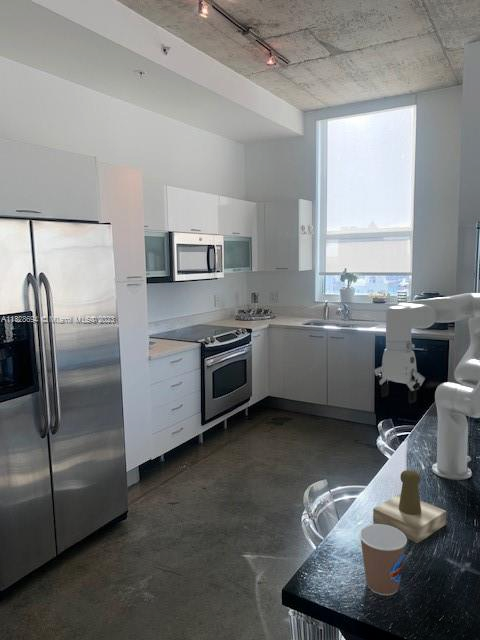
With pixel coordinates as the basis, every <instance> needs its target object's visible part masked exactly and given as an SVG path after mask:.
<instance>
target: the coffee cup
mask: <svg viewBox="0 0 480 640" xmlns="http://www.w3.org/2000/svg"><path fill="white" fill-rule="evenodd" d="M358 535H359V538H360V542H361V551H362V559H363V570H364V574H365V575H364V576H365V577H364V578H365V581H366V586H367V585H368V586H367V588H368V589H369V588H370V589H371V590H370V589H369V590H370V591H371V592H373V593H375V594H377V593H378V595H381V596H392V595H394V594H396V593H397V592H398V590H399V586H400V585H401V584H400V582H401V577H402V571H403V565H404V564H403V563H404V558H405V557H404V556H405V548H406V545H407V542H408V538H406V536H405V534H404V533H403V532H401V531H400V530H398V529H397V528H394V527H392V526H388V525H383V524H377V523H375V524H374V523H373V524H369V525H365V526H364V527H362V528H361V529H360V530H359V533H358Z"/></svg>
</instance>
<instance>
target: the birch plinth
mask: <svg viewBox="0 0 480 640" xmlns="http://www.w3.org/2000/svg"><path fill="white" fill-rule="evenodd" d="M400 496H401V493H399V494H397V495H396V496H393V497H392V498H389V499H388V500H386V501H385V502H382V503H381V504H379V505H377V506H375V507H373V508H372V510H373V511H372V523H375V524H383V525H388V526H392V527H394V528H397V529H398V530H400V531H401V532H403V533H404V534H405V536H406V538H407V540H410V541H412V542H415V543H416V544H419V543H420V542H422V541H423V540H425V539H426V538H429V536H431V535H432V534H434V533H435V532H437V531H439V530H440V529H441V528H443V527H444V526H446V525H447V510H444V509H442V508H441V507H437V506H436V505H432V504H430V503H427V502H425V501H422V500H420V504H421V513H420V514H417V515H409V514H405V513H403V512H401V511H400V510H399V502H400Z"/></svg>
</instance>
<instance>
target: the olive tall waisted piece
mask: <svg viewBox="0 0 480 640" xmlns="http://www.w3.org/2000/svg"><path fill="white" fill-rule="evenodd" d="M400 481H401V483H402V485H401V489H400V490H401V492H400V494H401V496H400V502H399V510H400V511H401V512H403V513H405V514H409V515H417V514H420V513H421V504H420V501H421V497H420V490H419V484H420V482H421V476H420V474H419V473H418V472H417V471H415V470H413V469H412V470H411V469H406V470H403V471H402V472H401V473H400Z"/></svg>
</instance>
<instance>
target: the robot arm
mask: <svg viewBox="0 0 480 640" xmlns="http://www.w3.org/2000/svg"><path fill="white" fill-rule="evenodd" d="M467 319H468V330H469V337H470V339H469V340H470V343H469V346H468V348H467V350H466V352H465V354H464V355H463V356H462V358H461V360H460V361H459V363H458V364H457V366H456V368H455V369H454V372H453V373H454V374H453V376H454V380H455V381H456V382H451V381H447V382H446V381H445V382H442V383H440V384H438V386H437V387H436V390H435V393H434V401H435V406H436V414H437V435H436V436H437V441H436V452H437V453H436V462H435V463H433V464H432V465H431V466H432V467H431V471H432V472H433V473H434V474H435V475H437V476H438V477H441V478H444V479H448V480H454V481H455V480H456V481H457V480H458V481H461V480H462V481H463V480H467V479H469V478H471V477H472V474H473V473H472V470H471V468H470V467H467V466H468V463H469V462H470V461H471V460H472V458H471V456H470V455H468V439H469V438H468V435H469V434H468V431H469V425H468V419H467V417H471V418H475V419H479V418H480V292H468V293H461V294H456V295H449V296H443V297H433V298H426V299H424V298H423V299H414V300H409V301H404V302H403V301H402V302H399V303H397V304H396V305H393V306H392V305H391V306H388V307H387V308H386V310H385V349H383V350H384V351H383V354H382V361H381V366H379V367H377V368H375V369H374V370H373V371H374V375H375V376H376V377H375V378H376V379H377V381H378V382H379V385H380V393H381V395H380V396H381V398H385V397H388V396H389V394H390V385H389V383H388V382H389V381H390V382H393V383H400V384H405V385H406V386H407V387H408V388H409V390H408V394H407V395H408V397H407V398H408V399H407V400H408V403H409V404H412V403H416V402H417V394H418V393H417V390H419V389H420V387H421V386H422V385H423V383H424V381H425V379H426V378H425V376H423V375H422V374H421V373H419V372H418V369H417V359H416V356H415V355H416V353H415V352H414V350H412V349H414V348H415V347H416V345H415V344H414V343H413V341H412V329H422V330H423V329H428V328H430V327H431V326H433V325H434V324H435V323H443V324H444V323H454V322H457V321H462V320H463V321H464V320H467ZM457 382H458V383H457ZM466 416H467V417H466Z"/></svg>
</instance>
